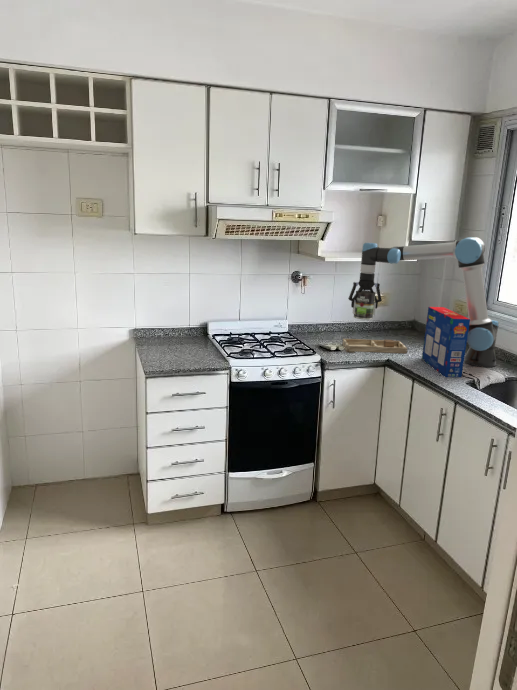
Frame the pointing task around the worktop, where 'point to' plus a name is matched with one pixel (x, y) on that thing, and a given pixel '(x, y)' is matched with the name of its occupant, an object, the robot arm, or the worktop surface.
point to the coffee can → (364, 305)
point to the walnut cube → (388, 343)
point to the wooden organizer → (372, 346)
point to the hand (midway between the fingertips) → (363, 313)
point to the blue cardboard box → (445, 341)
